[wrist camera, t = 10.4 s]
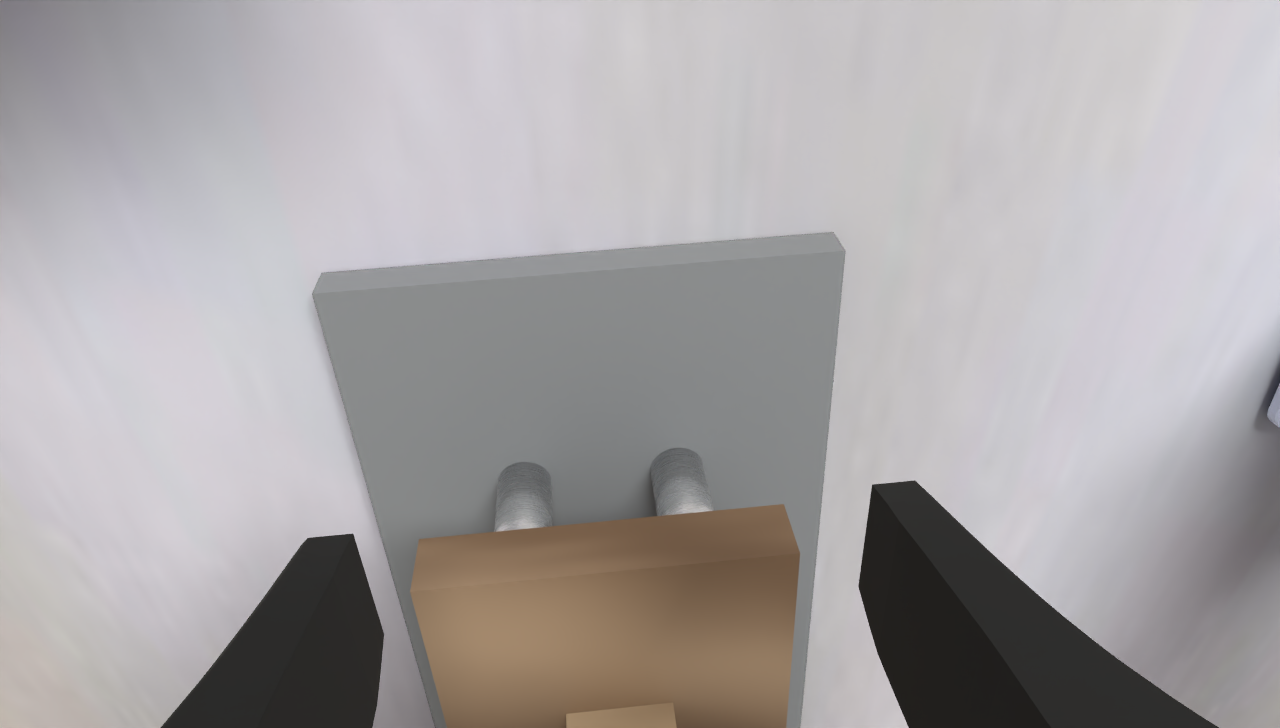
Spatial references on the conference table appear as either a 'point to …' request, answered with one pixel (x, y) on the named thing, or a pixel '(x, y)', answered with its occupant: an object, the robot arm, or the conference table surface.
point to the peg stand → (590, 394)
